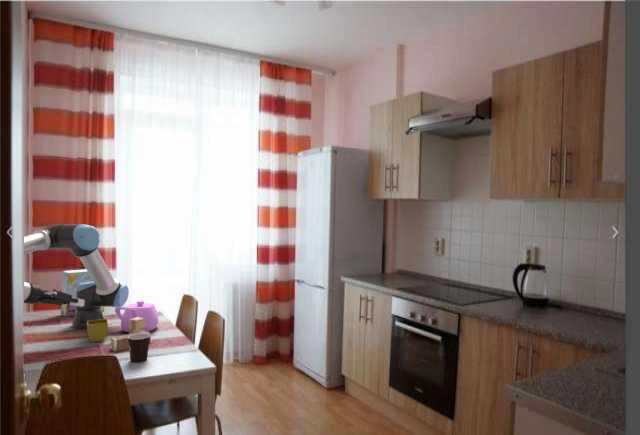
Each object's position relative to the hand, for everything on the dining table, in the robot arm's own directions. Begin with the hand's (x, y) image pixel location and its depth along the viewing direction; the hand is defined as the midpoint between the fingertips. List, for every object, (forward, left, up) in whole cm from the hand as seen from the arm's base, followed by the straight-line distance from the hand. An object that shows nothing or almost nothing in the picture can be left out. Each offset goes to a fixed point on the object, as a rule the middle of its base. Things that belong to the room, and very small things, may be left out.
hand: (83, 303), depth 183 cm
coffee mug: (+26, +12, -22) cm, 36 cm away
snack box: (-73, +25, -22) cm, 81 cm away
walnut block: (+5, +11, -19) cm, 23 cm away
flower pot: (-14, +11, -22) cm, 29 cm away
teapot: (-17, +33, -22) cm, 44 cm away
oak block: (-3, +25, -22) cm, 34 cm away
